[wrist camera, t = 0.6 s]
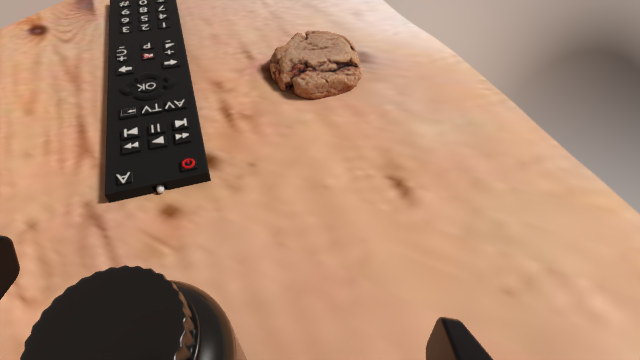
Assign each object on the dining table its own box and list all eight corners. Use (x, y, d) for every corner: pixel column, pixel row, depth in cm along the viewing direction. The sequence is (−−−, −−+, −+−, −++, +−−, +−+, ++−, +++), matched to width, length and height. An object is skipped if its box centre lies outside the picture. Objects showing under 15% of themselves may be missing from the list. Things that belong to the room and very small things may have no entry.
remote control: (112, 209, 29) (102, 194, 27) (114, 9, 47) (108, -7, 46) (212, 187, 31) (207, 172, 29) (176, 2, 49) (172, -13, 48)
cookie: (362, 48, 44) (366, 24, 42) (359, 108, 37) (363, 83, 35) (279, 40, 44) (278, 16, 42) (261, 97, 38) (259, 72, 35)
